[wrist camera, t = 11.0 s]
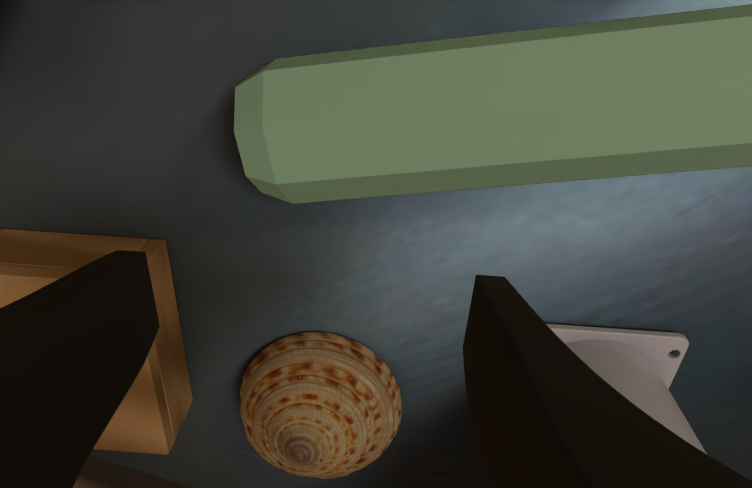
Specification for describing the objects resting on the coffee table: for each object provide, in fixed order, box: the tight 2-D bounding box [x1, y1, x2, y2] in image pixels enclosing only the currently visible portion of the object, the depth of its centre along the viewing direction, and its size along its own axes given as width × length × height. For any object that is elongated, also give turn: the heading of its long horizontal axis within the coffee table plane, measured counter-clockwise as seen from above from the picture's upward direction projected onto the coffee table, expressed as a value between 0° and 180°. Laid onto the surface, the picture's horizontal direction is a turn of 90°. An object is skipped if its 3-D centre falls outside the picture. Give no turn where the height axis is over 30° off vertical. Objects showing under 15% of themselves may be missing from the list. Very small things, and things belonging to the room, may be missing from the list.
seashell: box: [239, 332, 402, 479], centre depth 27 cm, size 8×6×8 cm
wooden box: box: [0, 229, 193, 455], centre depth 24 cm, size 10×8×4 cm
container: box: [234, 4, 752, 204], centre depth 17 cm, size 6×6×25 cm
